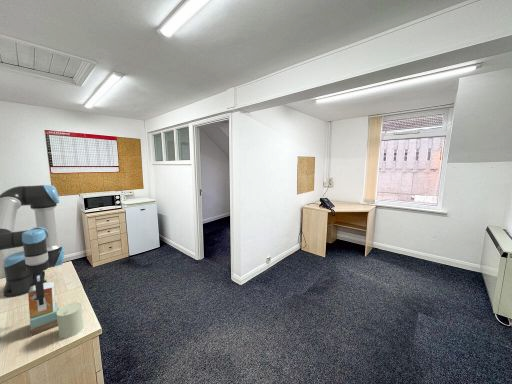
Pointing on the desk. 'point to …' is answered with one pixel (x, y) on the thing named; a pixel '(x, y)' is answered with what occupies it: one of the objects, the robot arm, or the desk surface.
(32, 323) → the top slab
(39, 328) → the bottom slab
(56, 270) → the desk surface
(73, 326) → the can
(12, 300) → the desk surface
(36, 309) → the small box
